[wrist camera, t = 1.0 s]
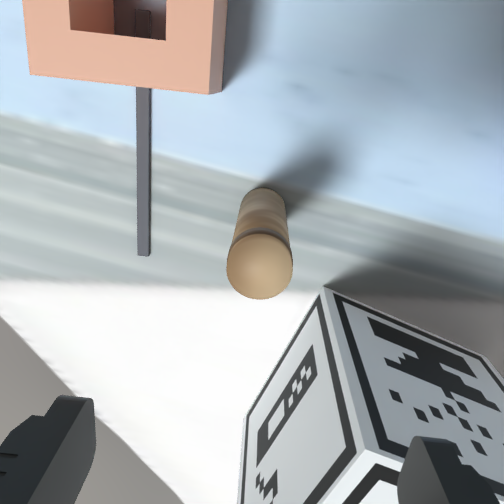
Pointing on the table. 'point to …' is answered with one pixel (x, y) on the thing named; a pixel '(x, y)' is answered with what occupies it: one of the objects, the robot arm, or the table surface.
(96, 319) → the table surface
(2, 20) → the table surface
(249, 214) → the rounded wooden dowel
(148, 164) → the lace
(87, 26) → the bead terracotta
